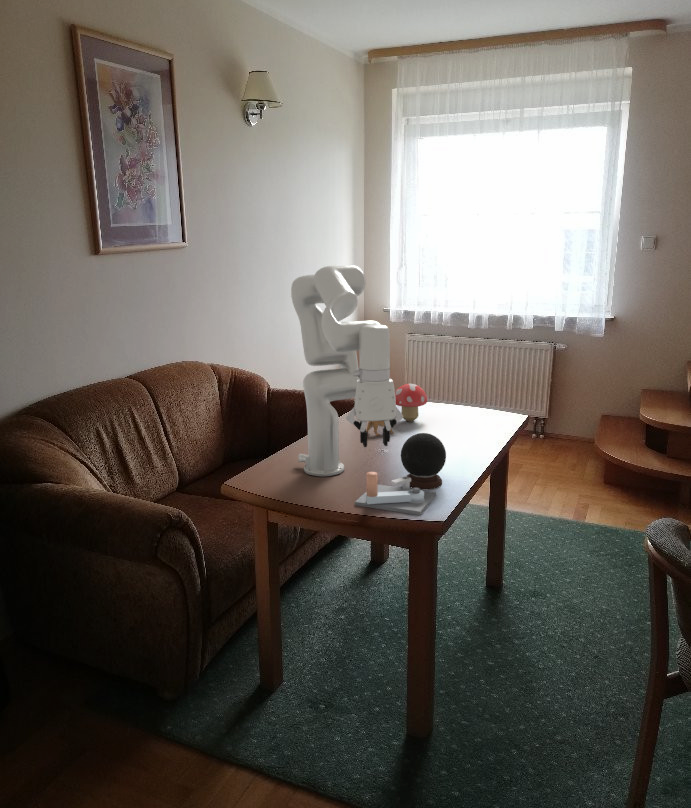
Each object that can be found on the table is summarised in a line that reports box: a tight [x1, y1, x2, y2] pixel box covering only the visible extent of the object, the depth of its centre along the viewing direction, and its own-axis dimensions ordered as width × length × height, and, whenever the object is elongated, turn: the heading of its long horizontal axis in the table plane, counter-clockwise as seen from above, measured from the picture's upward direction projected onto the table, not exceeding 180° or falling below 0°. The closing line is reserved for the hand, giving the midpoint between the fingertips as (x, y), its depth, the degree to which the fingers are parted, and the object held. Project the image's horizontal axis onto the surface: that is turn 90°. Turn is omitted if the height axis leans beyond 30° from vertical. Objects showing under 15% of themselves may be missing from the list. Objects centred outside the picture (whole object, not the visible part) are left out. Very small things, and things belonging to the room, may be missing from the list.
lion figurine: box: [366, 420, 394, 437], centre depth 248 cm, size 15×5×9 cm, turn 126°
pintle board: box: [354, 475, 437, 516], centre depth 186 cm, size 18×14×5 cm
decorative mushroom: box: [395, 383, 428, 422], centre depth 263 cm, size 13×13×15 cm
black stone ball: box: [400, 432, 447, 490], centre depth 198 cm, size 13×13×15 cm
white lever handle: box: [365, 471, 425, 504], centre depth 182 cm, size 16×4×8 cm, turn 96°
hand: (375, 444), depth 172 cm, fingers open, 4 cm apart
